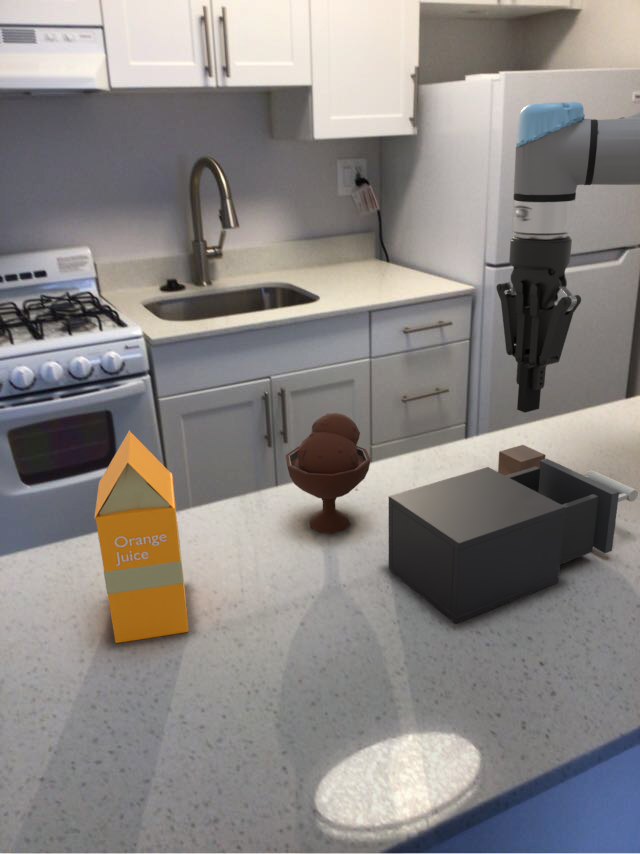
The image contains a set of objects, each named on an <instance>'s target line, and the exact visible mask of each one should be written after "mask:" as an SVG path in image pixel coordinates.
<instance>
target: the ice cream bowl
mask: <svg viewBox="0 0 640 854" xmlns="http://www.w3.org/2000/svg"><path fill="white" fill-rule="evenodd" d="M360 435H361V432H360V429H359V427H358V426H357V424H356V422H354V420H353V419H351V417H349V416H347V415H345V414H343V413H339V412H338V413H337V412H332V413H329V412H327V413H326V414H323V415H322V416H320V417H319V418H317V419H316V420H315V421H314V422H313V423H312V424H311V433H309V435H308V436H307V437H306V438H305V439H304V440H302V441H301V443H300V445H298V446H296V447H295V448H294V449H293V450H291V451H289V452H288V453H286V454H285V456H284V457H285V461H286V468H287V471H288V475H289V477H290V479H291V482H292V483H293V484H294V485H295V486H296V487H297V488H299V489H300V490H301V491H302V492H305V493H307V494H309V495H311V496H313V497H315V498H317V499H321V501H322V509H321V510H319V511H317V512H315V513H313V515H311V516H310V517H309V520H308V523H309V528H310V529H312V530H314V531H316V532H318V533H328V534H333V533H339V532H341V531H345V530H346V529H347V528H348V527H349V526H351V522H350V518H349V516H348V514H347V513H345V512H342V511H340V510H339V509H337V508H336V500H337V498H342V497H344V496H346V495H348V494H349V493H350V492H351V491H353V490H354V489H355V488H357V486H359V484H360V483H362V481H364V480H365V478H366V476H367V475H368V472H369V471H370V466H371V460H372V459H371V457H370V455H369V452H368V450H367V448H363V447H361V446H359V445H358V442H359V440H360Z"/></svg>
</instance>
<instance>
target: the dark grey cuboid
mask: <svg viewBox="0 0 640 854" xmlns="http://www.w3.org/2000/svg"><path fill="white" fill-rule="evenodd" d="M564 517H565V506H563V505H561V504H559V503H557V502H555V501H553V500H551V499H549V498H547V497H545V496H543V495H541V494H539V493H538V492H536V491H534V490H532V489H530V488H528V487H526V486H524V485H522V484H520V483H518V482H516V481H514V480H512V479H511V478H509V477H507V476H505V475H503V474H501V473H499V472H498V470H496V469H493V468H491V467H490V466H486V467H482V468H479V469H476V470H473V471H470V472H466V473H463V474H458V475H456V476H455V475H454V476H452V477H449V478H445V479H442V480H438V481H435V482H432V483H428V484H425V485H421V486H418V487H414V488H411V489H407V490H404V491H401V492H398V493H395V494H391V495H388V569H389V571H391V572H392V573H393V574H395V575H396V576H397V577H398V578H399V579H401V580H402V581H403V582H404V583H405V584H407V585H408V586H409V587H411V588H412V589H413V590H415V592H417V593H418V594H419V595H420V596H421V597H423V598H424V599H425V600H426V601H428V602H429V603H430V604H431V605H432V606H434V607H435V608H436V609H437V610H439V612H441V614H442V613H443V614H444V615H445V616H446V617H447V618H448V619H450V620H451V621H452V622H453V623H455V624H459V623H461V622H464V621H466V620H468V619H470V618H473V617H476V616H478V615H481V614H483V613H486V612H488V611H490V610H493V609H494V610H495V609H496V608H499V607H501V606H503V605H506V604H508V603H511V602H514V601H516V600H519V599H521V598H523V597H526V596H528V595H530V594H533V593H536V592H538V591H540V590H543V589H545V588H548V587H551V586H553V585H555V584H558V583H559V579H560V571H561V570H560V568H561V564H560V559H561V549H562V538H563V527H564Z"/></svg>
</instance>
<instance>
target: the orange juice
mask: <svg viewBox="0 0 640 854" xmlns="http://www.w3.org/2000/svg"><path fill="white" fill-rule="evenodd" d="M96 495H97V496H96V503H95V509H94V518H93V519H94V520H95V522H96V530H97V538H98V542H99V548H100V554H101V562H102V567H103V575H104V576H103V577H104V582H105V588H106V594H107V598H108V605H109V611H110V618H111V623H112V630H113V636H114V643H115V644H120V643H126V642H132V641H138V640H144V639H151V638H158V637H163V636H164V637H165V636H170V635H176V634H182V633H183V634H184V633H189V632H190V630H189V620H188V619H189V618H188V609H187V608H188V607H187V597H186V596H187V595H186V586H185V577H184V570H183V568H184V567H183V561H182V553H181V552H182V550H181V539H180V530H179V522H178V515H177V507H176V498H175V488H174V476H173V473H172V471H171V472H170V471H169V470H168V468H167V467H166V466H164V465H163V463H162V462H161V461H160V460H159V459H158V458H157V457H156V456H155V455H154V454H153V453H152V451H150V450H149V449H148V448H147V447H146V446H145V445H144V444H143V443H142V442H141V441H140V440H139V439H138V437H136V435H134V434H133V433H132V432H131V429H129V430H128V432H127V433H126V435H125V436H124V439H123V440H122V442H121V444H120V445H119V447H118V448H117V450H116V452H115V454H114V456H113V457H112V459H111V461H110V463H109V465H108V466H107V468H106V470H105V472H104V473H103V475H102V476H101V478H100V480H99V482H98V488H97V494H96Z"/></svg>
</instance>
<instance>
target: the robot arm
mask: <svg viewBox="0 0 640 854" xmlns="http://www.w3.org/2000/svg"><path fill="white" fill-rule="evenodd" d="M591 185H596V186H597V185H602V186H603V185H607V186H609V185H611V186H632V185H633V186H635V185H637V186H638V185H640V111H639V112H636V113H633V114H631V115H628V116H622V117H618V118H607V119H605V118H604V119H596V118H585V114H584V104H583V103H581V102H579V101H568V102H539V103H538V102H537V103H529V104H527V105H526V106H524V107H523V108H522V110H521V111H520V113H519V115H518V124H517V134H516V142H515V155H514V178H513V199H512V215H511V216H512V217H511V231H512V232H513V233H514V234H515V235H513V236H512V237H511V238H510V242H509V260H508V262H509V264H510V266H511V267H513V268H512V271H511V273H510V279H508V280H506V281H505V282H501V283H497V284H496V287H495V289H496V292H497V295H498V296H499V300H500V305H501V306H500V307H501V316H502V324H503V333H504V342H505V343H504V344H505V351H506V354H507V356H512V357H513V358H514V359H515V362H516V363H517V364H516V365H517V366H516V377H515V378H516V379H515V381H516V384H517V385H518V388H517V389H518V391H517V393H518V394H517V404H516V410H517V411H520V412H521V413H524V414H525V413H529V412H533V411H537V410H539V409H540V405H541V392H542V389H544V387H545V383H546V382H545V381H546V372H547V371H546V370H547V366H550V365H555V364H557V363H559V362H560V360H561V357H562V352H563V349H564V347H565V343H566V340H567V337H568V332H569V330H570V326H571V323H572V320H573V316H574V313H575V311H576V310H577V309H578V307H579V306H580V304H581V302H582V297H581V296H580V295H579V294H573V293H572V292H571V291H570V290H569V289H568V288H567V286H568V281H567V278H566V269H567V267H568V266H569V265H570V263H571V253H572V244H573V243H572V242H573V239H572V238H571V236H570V235H568V234H570V233H572V232H573V231H574V223H575V222H574V221H575V211H576V210H575V209H576V198H577V192H576V191H577V187H578V186H591Z"/></svg>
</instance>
